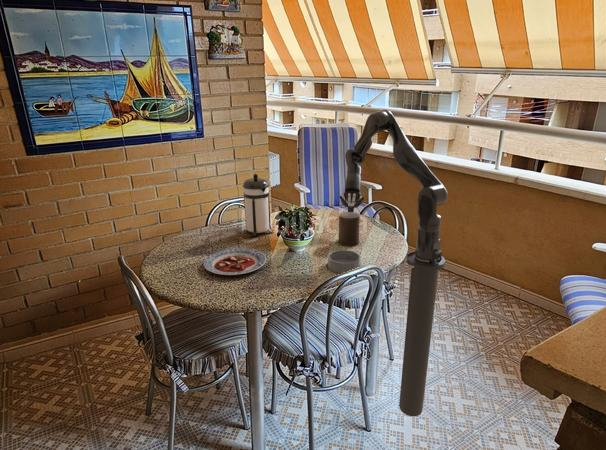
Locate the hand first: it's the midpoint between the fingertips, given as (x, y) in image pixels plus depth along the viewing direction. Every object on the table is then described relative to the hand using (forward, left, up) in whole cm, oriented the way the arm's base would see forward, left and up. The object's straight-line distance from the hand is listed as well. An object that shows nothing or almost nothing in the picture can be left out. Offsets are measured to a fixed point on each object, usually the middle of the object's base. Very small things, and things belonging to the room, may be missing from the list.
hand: (350, 214), depth 199 cm
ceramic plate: (+10, +61, -11) cm, 63 cm away
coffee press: (+36, +31, -11) cm, 49 cm away
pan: (-22, +29, -11) cm, 38 cm away
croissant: (+16, +16, -11) cm, 25 cm away
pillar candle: (-6, +8, -11) cm, 15 cm away
